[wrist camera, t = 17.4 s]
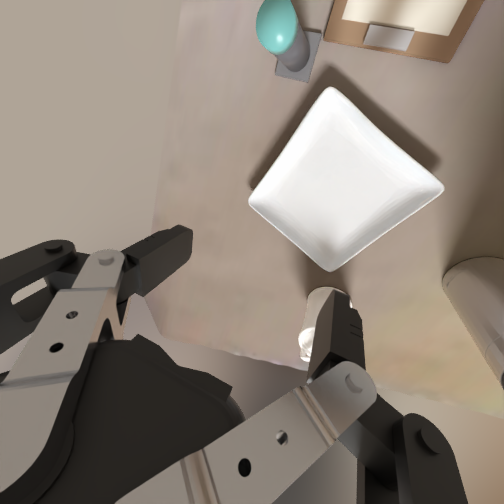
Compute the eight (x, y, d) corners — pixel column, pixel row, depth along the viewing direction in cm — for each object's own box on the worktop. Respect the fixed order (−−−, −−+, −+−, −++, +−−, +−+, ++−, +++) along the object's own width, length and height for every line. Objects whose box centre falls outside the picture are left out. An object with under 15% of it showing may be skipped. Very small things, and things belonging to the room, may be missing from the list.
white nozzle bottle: (329, 278, 44) (318, 364, 28) (362, 307, 44) (370, 408, 28) (295, 302, 50) (270, 383, 34) (324, 327, 50) (314, 419, 34)
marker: (315, 38, 28) (300, -5, 19) (305, 75, 30) (287, 52, 21) (288, 33, 29) (261, -10, 20) (280, 69, 31) (252, 45, 22)
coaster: (321, 34, 28) (321, 33, 27) (307, 82, 31) (307, 82, 30) (285, 28, 29) (285, 27, 28) (275, 75, 32) (274, 74, 31)
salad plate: (250, 198, 43) (244, 203, 40) (330, 85, 30) (328, 80, 27) (330, 266, 43) (329, 276, 40) (441, 183, 31) (450, 188, 28)
